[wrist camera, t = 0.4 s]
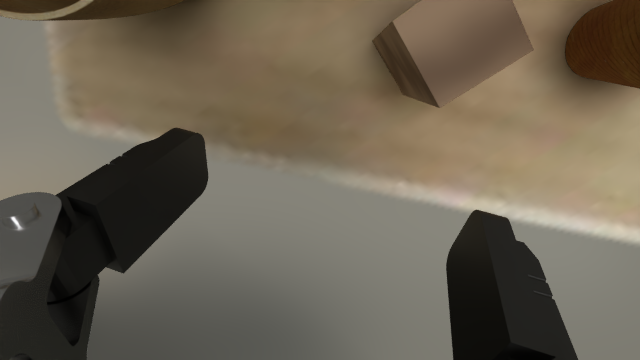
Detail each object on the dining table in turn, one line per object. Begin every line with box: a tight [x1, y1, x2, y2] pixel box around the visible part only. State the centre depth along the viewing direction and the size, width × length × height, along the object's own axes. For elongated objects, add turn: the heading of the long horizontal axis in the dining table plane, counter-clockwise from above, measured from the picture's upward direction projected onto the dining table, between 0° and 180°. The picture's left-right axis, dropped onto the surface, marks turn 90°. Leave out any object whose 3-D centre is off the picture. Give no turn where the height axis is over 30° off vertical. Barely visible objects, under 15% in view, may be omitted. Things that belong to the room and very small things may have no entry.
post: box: [373, 0, 534, 108], centre depth 23 cm, size 6×6×12 cm
